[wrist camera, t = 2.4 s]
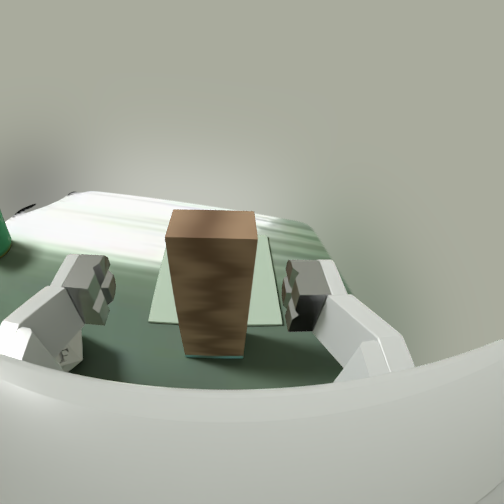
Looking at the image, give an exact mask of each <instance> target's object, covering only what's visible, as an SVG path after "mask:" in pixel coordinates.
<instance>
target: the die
mask: <svg viewBox="0 0 504 504" xmlns="http://www.w3.org/2000/svg"><path fill="white" fill-rule="evenodd" d="M55 360H56V361H57V363H58V364H59V365H60V366H61V367H62V369H63V371H64V372H69V371H70V370H71V369H73V368H74V367H75V366H76V365H77V364H78V363H80V362H81V361H82V360H83V344H82V332H81V330H80V331H79V332H78V333H77V334H76V335H75V336H74V337H73V338H72V340H71V341H70V342H69V343H68V344H67V345H66V346H65V347H64V349H63V350H62V351H61V352H60V353H59V354H58V355H57V357H56V358H55Z"/></svg>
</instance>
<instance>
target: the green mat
mask: <svg viewBox="0 0 504 504" xmlns="http://www.w3.org/2000/svg"><path fill="white" fill-rule="evenodd" d="M257 236H258V243H257V251H256V259H255V267H254V275H253V283H252V291H251V299H250V307H249V315H248V323H247V326H274V325H282V319H281V313H280V307H279V301H278V295H277V290H276V284H275V278H274V272H273V267H272V261H271V256H270V250H269V244H268V239H267V235H257ZM148 322H150V323H166V324H179V323H178V318H177V312H176V307H175V301H174V295H173V289H172V283H171V277H170V270H169V264H168V257H167V249H165V252H164V256H163V260H162V264H161V268H160V272H159V276H158V280H157V284H156V288H155V293H154V297H153V301H152V306H151V311H150V315H149V320H148Z"/></svg>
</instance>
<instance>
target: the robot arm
mask: <svg viewBox="0 0 504 504" xmlns="http://www.w3.org/2000/svg"><path fill="white" fill-rule="evenodd" d="M109 267H110V263H109V260H108V257H106V256H102V255H84V254H81V255H79V254H69V255H67V257H66V258H65V260H64V262H63V263H62V265H61V267H60V269H59V270H58V272H57V274H56V276H55V278H54V280H53V281H52V283H51V285H50V286H46V287H45V288H43V289H42V290H41V291H39V292H38V293H37V294H35V295H34V296H33V297H32V298H30V299H29V300H28V301H26V302H25V303H24V304H23V305H21V306H20V307H19V308H18V309H17V310H15V311H14V312H13V313H12V314H10V315H9V316H8V317H7V318H6V319H5V320H3V322H2V324H1V326H0V504H504V339H501V340H497V341H495V342H493V343H490V344H487V345H485V346H482V347H479V348H477V349H474V350H471V351H468V352H465V353H462V354H459V355H456V356H453V357H450V358H447V359H443V360H440V361H436V362H433V363H430V364H426V365H422V366H418V367H415V366H414V363H413V360H412V358H411V355H410V353H409V351H408V348H407V346H406V343H405V341H404V339H403V336H402V335H401V334H400V333H399V332H397V331H396V330H395V329H394V328H392V327H391V326H390V325H389V324H388V323H386V322H385V321H384V320H383V319H381V318H380V317H379V316H378V315H376V314H375V313H374V312H373V311H372V310H370V309H369V308H368V307H367V306H365V305H364V304H363V303H361V302H360V301H359V300H358V299H357V298H355V297H354V296H353V295H348V294H347V292H346V289H345V287H344V285H343V282H342V280H341V277H340V275H339V273H338V270H337V268H336V265H335V263H334V261H333V260H288V262H287V266H286V273H287V276H286V277H285V278H284V279H283V284H282V301H283V306H284V307H285V308H286V309H287V311H286V315H285V318H286V323H287V328H288V332H306V331H313V332H312V333H313V334H314V335H315V336H316V337H317V338H318V339H319V341H320V342H321V343H322V344H323V345H324V346H325V347H326V349H327V350H328V351H329V352H330V353H331V354H332V355H333V357H334V358H335V359H336V360H337V361H338V362H339V363H340V365H341V366H342V367H343V368H344V369H343V370H342V371H341V373H340V374H339V375H338V377H337V378H336V379H335V381H334V383H328V384H320V385H311V386H301V387H288V388H273V389H247V390H212V389H186V388H170V387H158V386H148V385H139V384H131V383H123V382H116V381H110V380H104V379H98V378H92V377H87V376H82V375H77V374H72V373H68V372H64V371H63V369H62V367H61V366H60V365H59V364H58V363H57V361H56V360H55V358H56V357H57V355H58V354H59V353H60V352H61V351H62V350H63V349H64V347H65V346H66V345H67V344H68V343H69V342H70V341H71V340H72V338H73V337H74V336H75V335H76V334H77V333H78V332H79V331H80V330H81V328H82V327H83V326H84V325H85V324H92V325H104V326H105V324H106V321H107V318H108V315H109V312H110V310H109V307H108V304H110V303H111V302H112V301H113V299H114V296H115V290H116V284H115V278H114V275H113V274H112V273H111V272H110V271H109V270H108V269H109Z"/></svg>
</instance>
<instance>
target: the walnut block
mask: <svg viewBox="0 0 504 504" xmlns="http://www.w3.org/2000/svg"><path fill="white" fill-rule="evenodd" d="M165 242H166V249H167V257H168V264H169V270H170V277H171V283H172V289H173V295H174V301H175V307H176V312H177V318H178V323H179V328H180V333H181V338H182V343H183V347H184V352H185V356H186V357H194V358H243V354H244V346H245V339H246V331H247V323H248V315H249V307H250V299H251V291H252V283H253V275H254V267H255V259H256V251H257V243H258V236H257V229H256V222H255V214H254V212H253V211H224V210H173V212H172V216H171V219H170V222H169V225H168V229H167V232H166V235H165Z"/></svg>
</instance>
